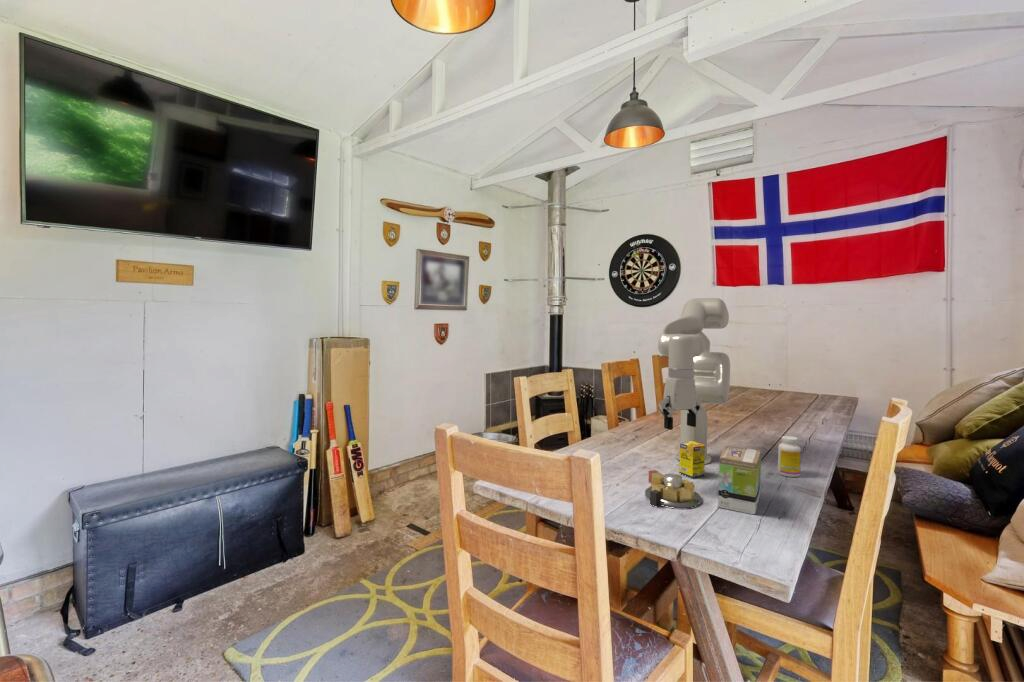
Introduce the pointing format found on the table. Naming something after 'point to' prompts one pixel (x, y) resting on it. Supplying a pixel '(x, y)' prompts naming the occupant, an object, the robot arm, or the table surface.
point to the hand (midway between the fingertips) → (680, 427)
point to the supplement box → (692, 459)
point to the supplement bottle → (789, 457)
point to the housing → (657, 500)
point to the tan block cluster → (671, 488)
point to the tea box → (739, 479)
